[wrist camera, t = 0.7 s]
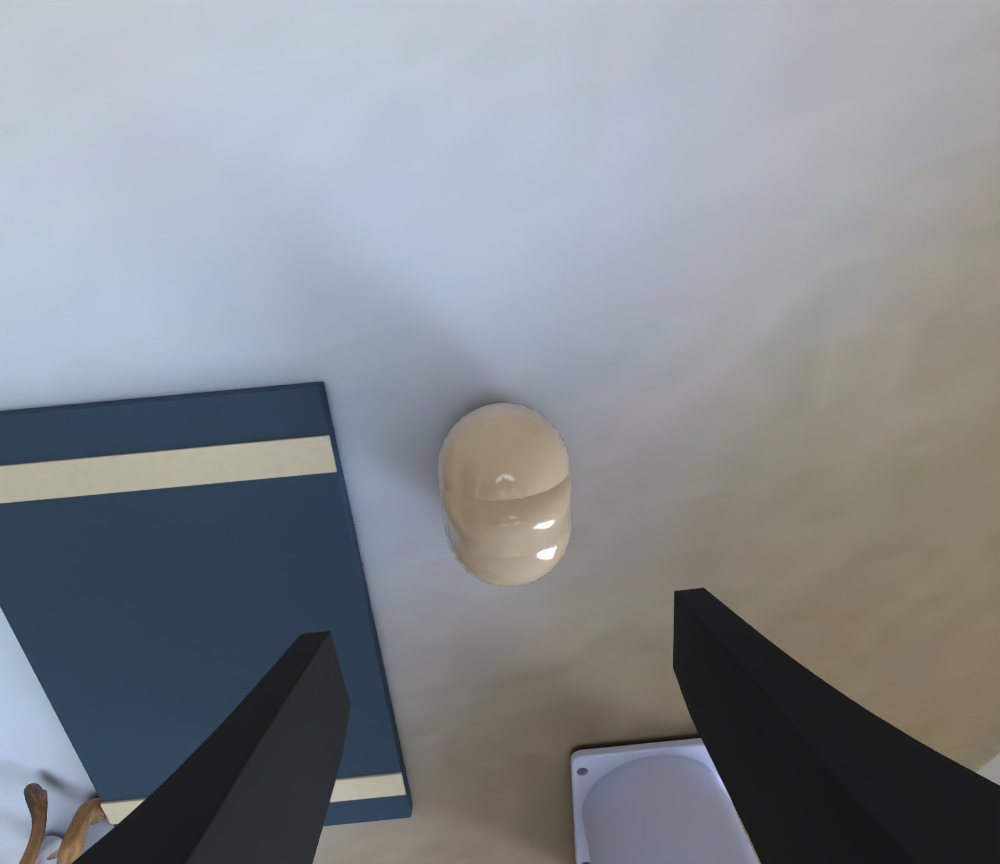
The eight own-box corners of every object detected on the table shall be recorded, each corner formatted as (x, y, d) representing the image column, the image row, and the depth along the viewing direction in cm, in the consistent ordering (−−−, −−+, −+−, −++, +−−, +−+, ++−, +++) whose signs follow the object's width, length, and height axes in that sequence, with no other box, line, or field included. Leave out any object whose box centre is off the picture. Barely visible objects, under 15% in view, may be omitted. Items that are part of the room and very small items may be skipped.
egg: (563, 535, 21) (585, 608, 17) (454, 546, 21) (449, 622, 17) (556, 381, 19) (579, 423, 15) (434, 393, 19) (422, 437, 14)
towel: (412, 805, 26) (411, 819, 25) (132, 833, 26) (123, 849, 25) (323, 381, 18) (317, 386, 18) (-78, 418, 18) (-99, 424, 17)
